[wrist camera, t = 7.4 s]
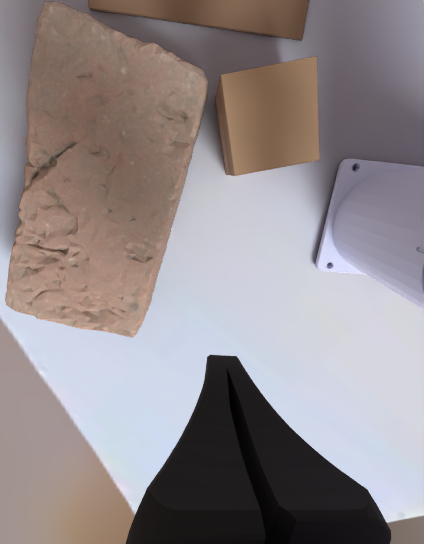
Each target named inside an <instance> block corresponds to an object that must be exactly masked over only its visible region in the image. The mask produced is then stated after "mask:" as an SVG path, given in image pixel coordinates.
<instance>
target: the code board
mask: <svg viewBox="0 0 424 544" xmlns="http://www.w3.org/2000/svg"><path fill="white" fill-rule="evenodd" d="M88 2H89V9H90V10H97V11H104V12H110V13H117V14H124V15H131V16H138V17H144V18H151V19H158V20H165V21H172V22H178V23H185V24H192V25H199V26H206V27H212V28H219V29H226V30H233V31H240V32H246V33H253V34H260V35H267V36H274V37H281V38H287V39H294V40H302V39H303V33H304V27H305V21H306V16H307V10H308V4H309V0H88Z"/></svg>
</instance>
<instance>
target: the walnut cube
mask: <svg viewBox="0 0 424 544" xmlns="http://www.w3.org/2000/svg"><path fill="white" fill-rule="evenodd" d="M215 102H216V109H217V116H218V123H219V129H220V136H221V143H222V150H223V157H224V164H225V170H226V175H232V176H237V175H243V174H248V173H253V172H258V171H264V170H269V169H274V168H280V167H285V166H290V165H296V164H301V163H306V162H312V161H317V160H319V126H318V86H317V56H315V57H310V58H305V59H299V60H294V61H289V62H284V63H279V64H273V65H268V66H263V67H258V68H253V69H247V70H242V71H237V72H232V73H227V74H222V75H221V77H220V81H219V85H218V89H217V92H216V96H215Z"/></svg>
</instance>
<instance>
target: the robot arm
mask: <svg viewBox="0 0 424 544" xmlns="http://www.w3.org/2000/svg"><path fill="white" fill-rule="evenodd" d="M354 164H356V166H357V168H356V170H355V171H353V170H352V166H353V165H354ZM330 262H331V265H330V266H329V267H327V264H328V263H330ZM315 266H316V268H317V269H318V270H320V271H328V272H342V273H356V274H366V275H368V276H369V277H371V278H373V279H374V280H376V281H378V282H379V283H381V284H382V285H384V286H386V287H387V288H389V289H391V290H392V291H394V292H395V293H397V294H399V295H400V296H402V297H403V298H405V299H407V300H408V301H410V302H412V303H413V304H415V305H416V306H418V307H420V308H421V309H423V310H424V167H423V166H414V165H405V164H396V163H387V162H378V161H368V160H359V159H345V160H343V161H342V162H341V163H340V165H339V169H338V173H337V177H336V181H335V185H334V189H333V193H332V197H331V201H330V206H329V210H328V214H327V218H326V222H325V226H324V230H323V234H322V238H321V242H320V246H319V250H318V255H317V259H316V263H315ZM390 541H391V530H390V528H389V527H388V525H387V523H386V521H385V519H384V517H383V515H382V514H381V512H380V510H379V508H378V506H377V504H376V503H375V501H374V500H373V498H372V497H371V495H370V493H369V492H368V490H367V489H366V488H364V487H363V486H361V485H360V484H359V483H357V482H356V481H354V480H353V479H352V478H350V477H349V476H347V475H346V474H345V473H343V472H342V471H340V470H339V469H338V468H336V467H335V466H334V465H333V464H331V463H330V462H329V461H328V460H326V459H325V458H324V457H323V456H321V455H320V454H319V453H318V452H317V451H315V450H314V449H313V448H312V447H311V446H310V445H309V444H308V443H306V442H305V441H304V440H303V439H302V438H301V437H300V436H299V435H298V434H297V433H296V432H295V431H294V430H293V429H291V428H290V427H289V425H288V424H287V423H286V422H285V421H284V420H283V419H282V418H281V417H280V416H279V415H278V413H277V412H276V411H275V410H274V409H273V408H272V406H271V405H270V404H269V403H268V401H267V400H266V399H265V397H264V396H263V395H262V394H261V392H260V391H259V389H258V388H257V387H256V385H255V384H254V382H253V381H252V379H251V378H250V377H249V375H248V373H247V372H246V370H245V369H244V367H243V366H242V364H241V362H240V361H239V359H238V358H237V356H220V355H209V356H208V357H207V364H206V372H205V380H204V384H203V388H202V391H201V393H200V396H199V399H198V402H197V404H196V407H195V409H194V411H193V414H192V416H191V418H190V420H189V422H188V424H187V426H186V428H185V430H184V432H183V434H182V436H181V438H180V439H179V441H178V443H177V445H176V446H175V448H174V449H173V451H172V453H171V454H170V456H169V457H168V459H167V461H166V462H165V464H164V465H163V467H162V468H161V470H160V471H159V472H158V474H157V475H156V477H155V478H154V479H153V481H152V482H151V484H150V485H149V486H148V488H147V490H146V492H145V494H144V497H143V499H142V501H141V503H140V505H139V508H138V510H137V512H136V515H135V517H134V520H133V522H132V525H131V528H130V530H129V534H128V538H127V541H126V544H390Z"/></svg>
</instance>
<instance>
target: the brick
mask: <svg viewBox="0 0 424 544" xmlns="http://www.w3.org/2000/svg"><path fill="white" fill-rule="evenodd" d="M207 93H208V81H207V78H206V76H205V74H204V71H203V70H202V69H200V68H199V67H198V66H195V65H193V64H190V63H188V62H186V61H184V60H182V59H180V58H179V57H178V56H176V55H175V54H173V53H172V52H168V51H166V50H165V49H163V48H162V47H160V46H159V45H157V44H155V43H144V42H142V41H140V40H138V39H136V38H132V37H130V36H126V35H124V34H123V33H121V32H119V31H116V30H114V29H112V28H110V27H108V26H107V25H105V24H104V23H102V22H100V21H98V20H96V19H95V18H93V17H92V16H91V15H89V14H88V13H84V12H80V11H78V10H76V9H73V8H71V7H69V6H66V5H64V4H62V3H60V2H45V3H44V6H43V8H42V13H41V15H40V17H39V18H38V20H37V28H36V37H35V44H34V49H33V54H32V60H31V69H30V78H29V84H28V93H27V111H26V113H27V122H28V133H27V138H26V151H27V158H28V160H29V162H28V163H27V164H26V165H25V173H24V177H25V185H24V190H23V193H22V197H21V201H20V205H19V207H18V208H20V211H19V214H18V216H19V217H20V219H21V220H20V222H19V225H18V227H17V229H16V231H15V240H16V241H15V242H14V245H13V248H12V253H11V258H10V264H9V273H8V282H7V293H6V297H5V301H6V305H7V306H9V307H10V308H11V309H13V310H15V311H17V312H20V313H24V314H28V315H33V316H35V317H36V318H37V319H42V320H48V321H52V322H57V323H61V324H65V325H68V326H72V327H76V328H81V329H89V330H100V331H105V332H110V333H116V334H119V335H123V336H127V337H134V336H135V335H136V334H137V332H138V330H139V328H140V326H141V325H142V323H143V321H144V318H145V315H146V312H147V310H148V308H149V305H150V303H151V299H152V294H153V292H154V288H155V283H156V279H157V276H158V273H159V270H160V267H161V263H162V260H163V256H164V253H165V250H166V247H167V241H168V239H169V236H170V231H171V227H172V224H173V220H174V217H175V214H176V211H177V208H178V204H179V201H180V197H181V194H182V192H183V188H184V184H185V180H186V176H187V171H188V167H189V164H190V161H191V158H192V153H193V148H194V145H195V142H196V139H197V136H198V132H199V128H200V123H201V119H202V116H203V111H204V107H205V103H206V98H207Z"/></svg>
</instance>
